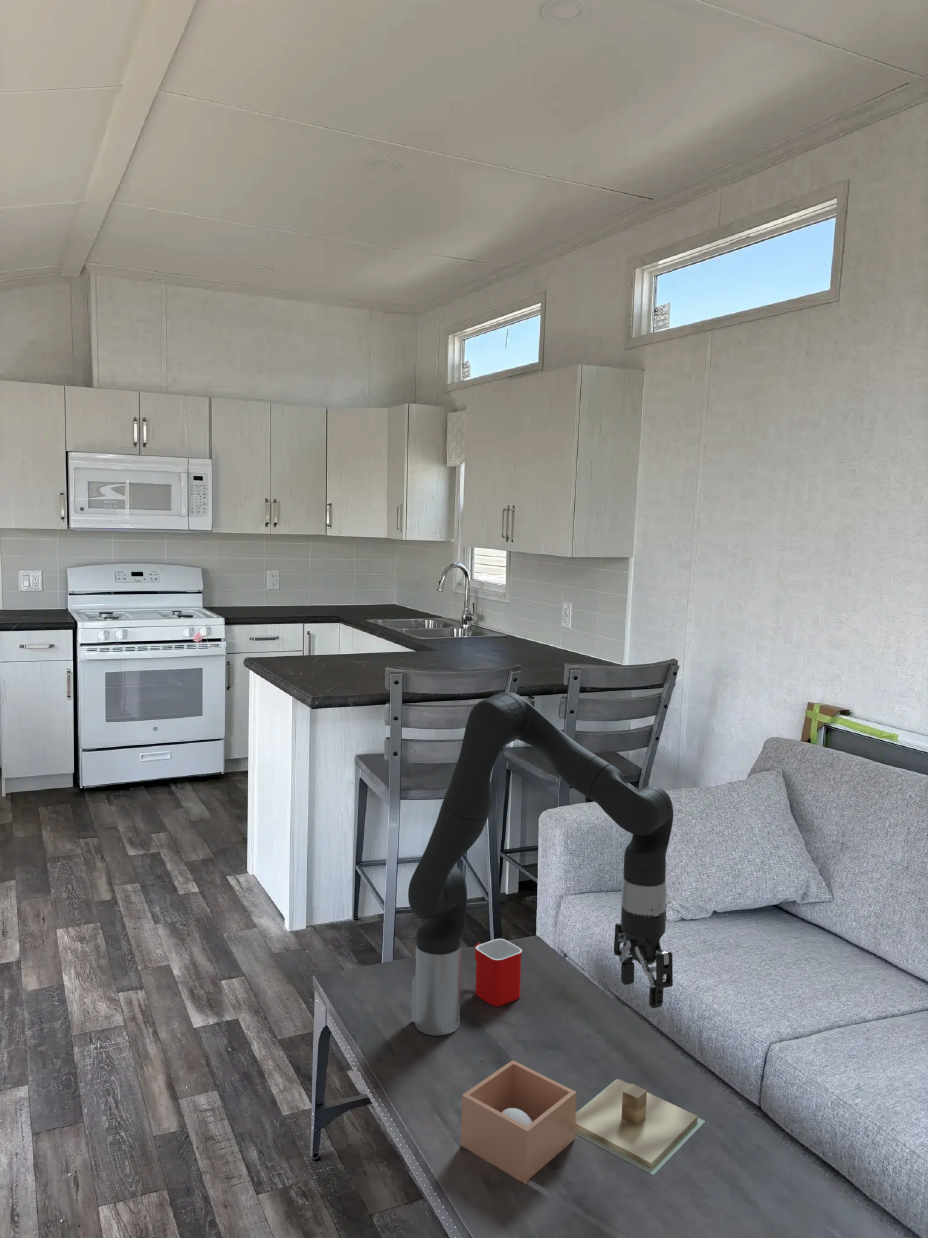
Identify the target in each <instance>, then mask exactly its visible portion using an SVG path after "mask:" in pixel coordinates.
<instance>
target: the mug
mask: <svg viewBox="0 0 928 1238" xmlns="http://www.w3.org/2000/svg"><path fill="white" fill-rule="evenodd" d="M474 946H475V947H474V958H475V964H476V965H475V970H476V971H475V995H476V996H477V997H478V998H480V999H481V1000H483V1001H484V1002H486V1003H488V1004H489V1005H490V1006H493V1007H501V1006H504V1005H506V1004H509V1003H512V1002H514V1001H516V1000H518V999H520V997H521V975H522V974H521V971H522V969H521V968H522V954H523V949H522V948H521V947H520V946H517V945H515V944H514V943H512V942H510V940H509V941H508V940H507V939H505V938H496V939H491V940H489V941H486V942H484V943H479V942H478V943H476V944H475V945H474Z"/></svg>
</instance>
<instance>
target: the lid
mask: <svg viewBox="0 0 928 1238" xmlns="http://www.w3.org/2000/svg"><path fill="white" fill-rule="evenodd" d="M615 1080H616V1079H615ZM615 1080H614V1081H615ZM614 1081H613V1082H614ZM610 1084H611V1083H610ZM610 1084H609V1085H610ZM609 1085H608V1086H609ZM604 1089H605V1088H604ZM604 1089H603V1090H604ZM603 1090H602V1091H603ZM599 1093H600V1092H599ZM599 1093H598V1094H599ZM598 1094H597V1095H598ZM597 1095H596V1096H597ZM593 1098H594V1097H593ZM593 1098H592V1099H593ZM592 1099H591V1100H592ZM591 1100H590V1101H591ZM587 1103H588V1102H587ZM587 1103H586V1104H587ZM586 1104H585V1105H586ZM585 1105H584V1106H585ZM581 1108H582V1107H581ZM581 1108H580V1109H581ZM580 1109H579V1110H580ZM579 1110H578V1111H579ZM698 1118H699V1117H698V1115H696V1114H695V1113H692V1112H690V1111H688V1110H686V1109H684V1108H681V1107H680V1106H677V1105H675V1104H673V1103H671V1102H669V1101H666V1100H664V1099H662V1098H660V1097H658V1096H656V1095H654V1094H652V1093H650V1092H648V1090H647V1089H644V1088H642V1087H641V1086H638V1085H636V1084H634V1083H628V1082H627V1081H625V1080H622V1079H620V1078H617V1080H616V1081H615V1082H614V1083H613V1084H611V1085H610V1086H609V1087H608V1088H607V1089H605V1090H604V1091H603V1092H602V1093H600V1094H599V1095H598V1096H597V1097H596V1098H594V1099H593V1100H592V1101H591V1102H590V1103H588V1104H587V1105H586V1106H585V1107H584V1108H582V1109H581V1110H580V1111H579V1112H578V1113H576V1125H575V1129H577V1130H579V1131H581V1132H583V1133H584V1134H586V1135H588V1136H590V1137H592V1138H594V1139H596V1140H598V1141H599V1142H601V1143H603V1144H605V1145H607V1146H609V1147H611V1148H613V1149H615V1150H616V1151H618V1152H620V1153H622V1154H624V1155H626V1156H628V1157H630V1158H632V1159H633V1160H635V1161H637V1162H639V1163H641V1164H643V1165H645V1166H647V1167H649V1168H650V1169H651V1168H652V1167H653V1166H654V1165H655V1164H656V1163H657V1162H658V1161H659V1160H660V1159H661V1158H662V1157H663V1156H664V1155H665V1154H666V1153H667V1152H668V1151H669V1150H670V1149H671V1148H672V1147H673V1146H674V1145H675V1144H676V1143H677V1142H678V1141H679V1140H680V1139H681V1138H682V1137H683V1136H684V1135H685V1134H686V1133H687V1132H688V1131H689V1130H690V1129H691V1127H692V1126H693V1125H694V1124H695V1123H696V1122H697V1120H698Z"/></svg>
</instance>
